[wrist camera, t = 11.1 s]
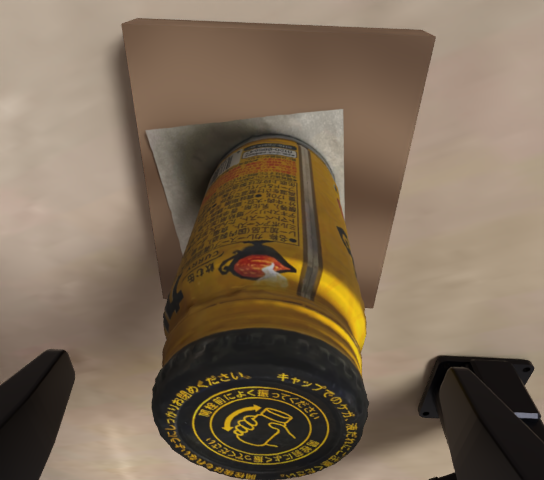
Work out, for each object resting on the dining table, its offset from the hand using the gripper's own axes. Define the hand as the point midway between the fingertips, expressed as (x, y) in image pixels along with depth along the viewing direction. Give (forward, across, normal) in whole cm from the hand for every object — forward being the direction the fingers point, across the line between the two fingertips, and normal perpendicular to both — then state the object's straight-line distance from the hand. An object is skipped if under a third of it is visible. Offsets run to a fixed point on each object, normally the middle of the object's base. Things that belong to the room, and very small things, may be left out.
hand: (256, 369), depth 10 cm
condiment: (+11, +1, +1) cm, 11 cm away
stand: (+13, 0, +1) cm, 13 cm away
